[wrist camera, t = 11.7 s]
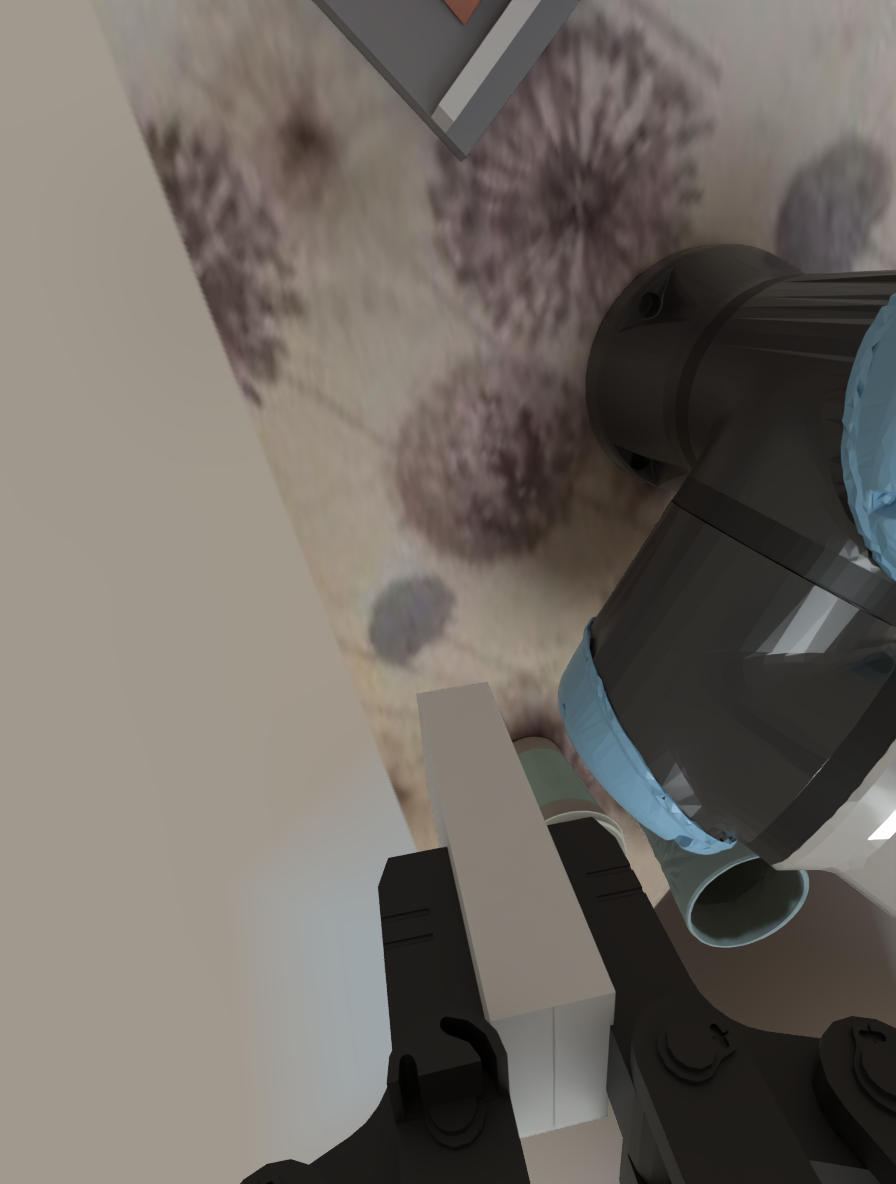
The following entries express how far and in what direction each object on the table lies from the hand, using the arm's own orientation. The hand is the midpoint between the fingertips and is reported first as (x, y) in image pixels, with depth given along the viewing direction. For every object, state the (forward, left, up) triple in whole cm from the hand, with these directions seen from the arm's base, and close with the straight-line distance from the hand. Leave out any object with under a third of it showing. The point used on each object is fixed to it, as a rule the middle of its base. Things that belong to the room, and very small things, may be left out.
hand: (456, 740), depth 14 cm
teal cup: (-24, +36, -31) cm, 53 cm away
